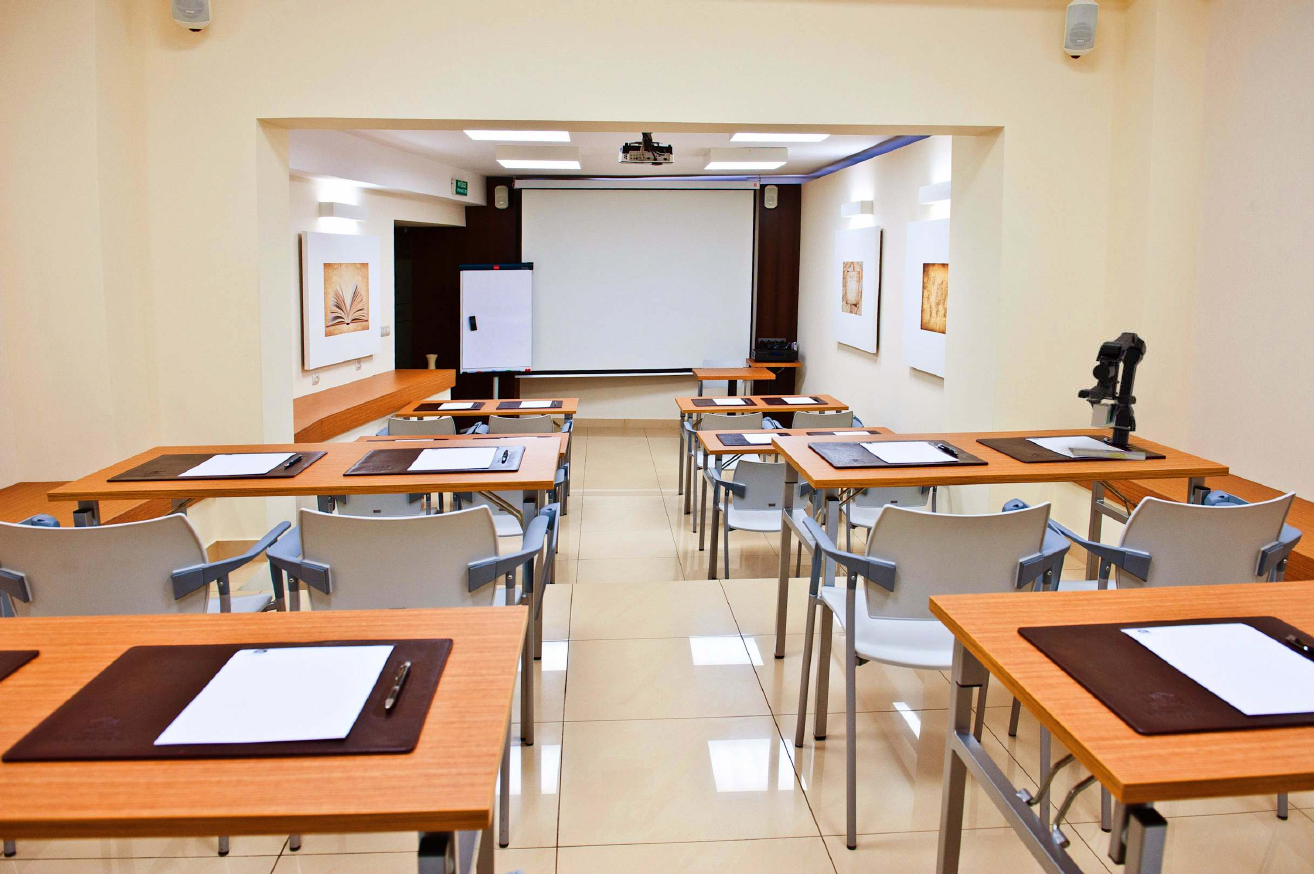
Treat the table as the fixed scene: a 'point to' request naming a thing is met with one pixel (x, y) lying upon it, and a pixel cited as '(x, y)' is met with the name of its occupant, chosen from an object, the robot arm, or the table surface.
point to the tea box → (1102, 416)
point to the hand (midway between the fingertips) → (1103, 420)
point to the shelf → (1108, 453)
